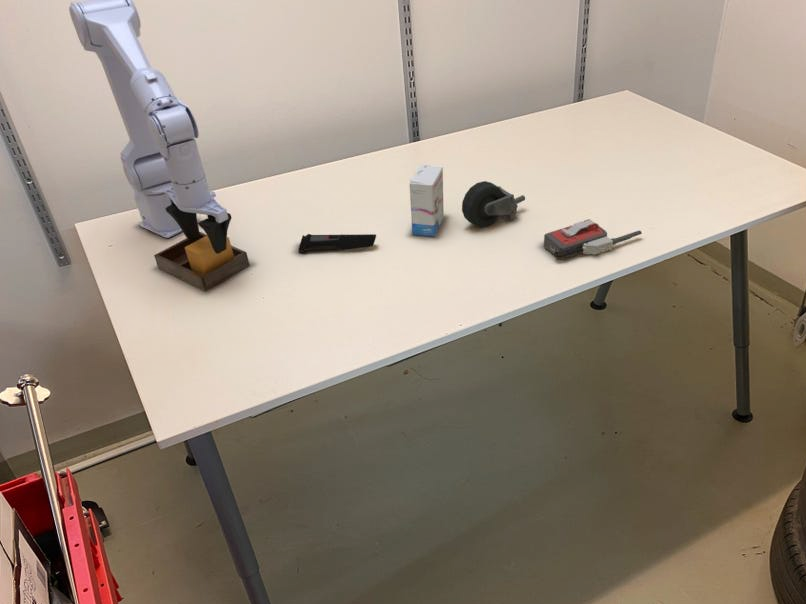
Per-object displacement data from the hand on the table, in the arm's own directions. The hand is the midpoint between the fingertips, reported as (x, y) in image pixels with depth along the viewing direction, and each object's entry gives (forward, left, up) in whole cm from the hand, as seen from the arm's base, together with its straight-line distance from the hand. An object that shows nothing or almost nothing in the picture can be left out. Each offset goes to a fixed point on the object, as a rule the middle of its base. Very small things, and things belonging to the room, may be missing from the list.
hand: (207, 244), depth 134 cm
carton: (0, 0, -6) cm, 6 cm away
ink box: (+23, +36, -6) cm, 44 cm away
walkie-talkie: (+55, +49, -6) cm, 74 cm away
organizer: (-3, 0, -6) cm, 7 cm away
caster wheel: (+33, +46, -6) cm, 58 cm away
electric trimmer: (+13, +19, -6) cm, 24 cm away
